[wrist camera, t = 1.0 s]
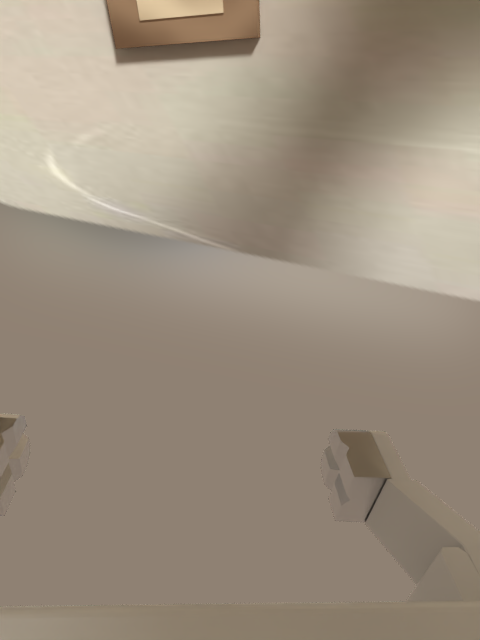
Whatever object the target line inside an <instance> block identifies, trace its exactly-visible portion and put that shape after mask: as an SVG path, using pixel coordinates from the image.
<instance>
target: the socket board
mask: <svg viewBox="0 0 480 640" xmlns="http://www.w3.org/2000/svg"><path fill="white" fill-rule="evenodd" d="M107 5H108V10H109V15H110V21H111V26H112V31H113V36H114V41H115V46H116V49H118V48H132V47H145V46H157V45H170V44H183V43H195V42H208V41H220V40H233V39H246V38H258V37H260V13H259V0H107Z"/></svg>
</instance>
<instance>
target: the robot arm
mask: <svg viewBox="0 0 480 640" xmlns="http://www.w3.org/2000/svg"><path fill="white" fill-rule="evenodd" d="M26 426H27V425H26V420H25V416H22V415H13V414H0V516H5V514H6V512H7V509H8V507H9V505H10V503H11V501H12V498H13V496H14V494H15V492H16V490H15V485H14V482H15V481H16V480H18V479H19V478H20V477H22V476H23V474H24V472H25V469H26V467H27V464H28V460H29V455H30V441H29V438H28V437H27V436H26V435H25V434H24V433H23V432H24V430H25V428H26ZM328 440H329V443H330V446H329V447H327V448H326V449H325V450H324V452H323V455H322V459H321V472H322V477H323V481H324V484H325V485H326V486H327V487H328V488H329V489H330V490H331V493H330V496H329V502H330V506H331V509H332V513H333V515H334V519H335V521H346V522H366V523H365V525H366V526H367V527H368V528H369V529H370V531H371V532H372V533H373V534H374V535H375V536H376V538H377V539H378V540H379V541H380V542H381V544H382V545H383V546H384V547H385V548H386V550H387V551H388V552H389V553H390V554H391V555H392V556H393V558H394V559H395V560H396V561H397V562H398V564H399V565H400V566H401V567H402V568H403V569H404V571H405V572H406V573H407V574H408V575H409V576H410V578H411V579H412V580H413V581H414V583H415V584H416V587H415V588H414V590H413V591H412V592H411V594H410V595H409V597H408V598H407V600H406V602H331V603H330V602H329V603H244V604H243V603H242V604H241V603H240V604H164V605H163V604H162V605H161V604H159V605H87V606H86V605H83V606H81V605H80V606H7V607H6V606H2V607H1V606H0V640H480V531H479V530H478V529H477V528H475V527H474V526H473V525H472V524H470V523H469V522H468V521H467V520H465V519H464V518H462V516H461V515H459V514H458V513H457V512H456V511H454V510H453V509H452V508H451V507H449V506H448V505H447V504H445V503H444V502H443V501H442V500H441V499H440V498H438V497H437V496H436V495H435V494H433V493H432V492H431V491H430V490H428V489H427V488H426V487H425V486H423V485H422V484H421V483H420V482H419V481H417V480H411V478H410V476H409V474H408V472H407V470H406V468H405V466H404V464H403V462H402V460H401V458H400V456H399V454H398V452H397V450H396V449H395V446H394V445H393V443H392V441H391V439H390V437H389V435H388V434H387V433H386V432H385V431H365V430H339V429H333V430H332V431H331V432H330V435H329V438H328Z"/></svg>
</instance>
